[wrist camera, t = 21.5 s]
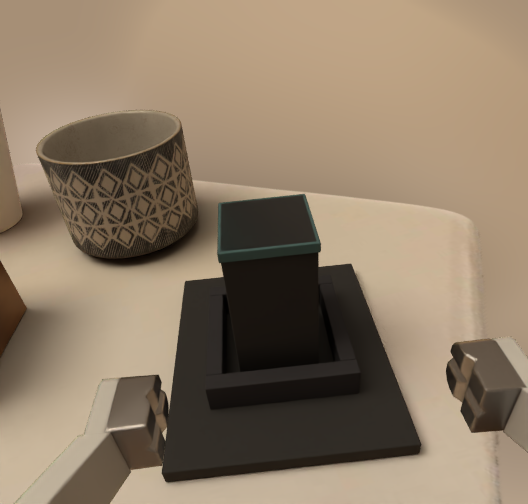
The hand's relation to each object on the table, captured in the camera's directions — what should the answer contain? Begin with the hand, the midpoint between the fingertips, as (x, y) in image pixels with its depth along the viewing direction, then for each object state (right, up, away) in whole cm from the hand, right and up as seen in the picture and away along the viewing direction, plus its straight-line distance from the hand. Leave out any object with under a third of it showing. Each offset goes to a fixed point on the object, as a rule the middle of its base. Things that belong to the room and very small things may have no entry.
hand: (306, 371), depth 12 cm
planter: (-14, +5, +33) cm, 36 cm away
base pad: (0, -4, +18) cm, 18 cm away
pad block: (0, -3, +17) cm, 18 cm away
